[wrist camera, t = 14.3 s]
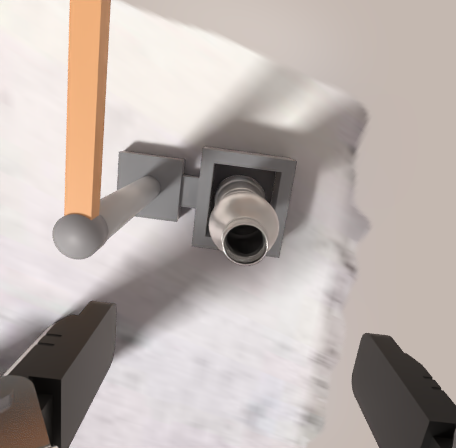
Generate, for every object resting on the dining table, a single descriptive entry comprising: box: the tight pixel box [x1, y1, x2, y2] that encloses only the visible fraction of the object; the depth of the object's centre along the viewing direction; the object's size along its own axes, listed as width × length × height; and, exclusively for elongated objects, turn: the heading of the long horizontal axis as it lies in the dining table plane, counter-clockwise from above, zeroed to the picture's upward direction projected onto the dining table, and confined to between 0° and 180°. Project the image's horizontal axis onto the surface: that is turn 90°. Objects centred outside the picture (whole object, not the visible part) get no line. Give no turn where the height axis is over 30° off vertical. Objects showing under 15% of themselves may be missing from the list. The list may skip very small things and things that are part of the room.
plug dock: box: [99, 146, 297, 258], centre depth 36 cm, size 12×22×21 cm, turn 82°
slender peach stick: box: [53, 0, 111, 259], centre depth 22 cm, size 19×3×2 cm, turn 171°
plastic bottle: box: [209, 175, 279, 266], centre depth 37 cm, size 6×7×20 cm
